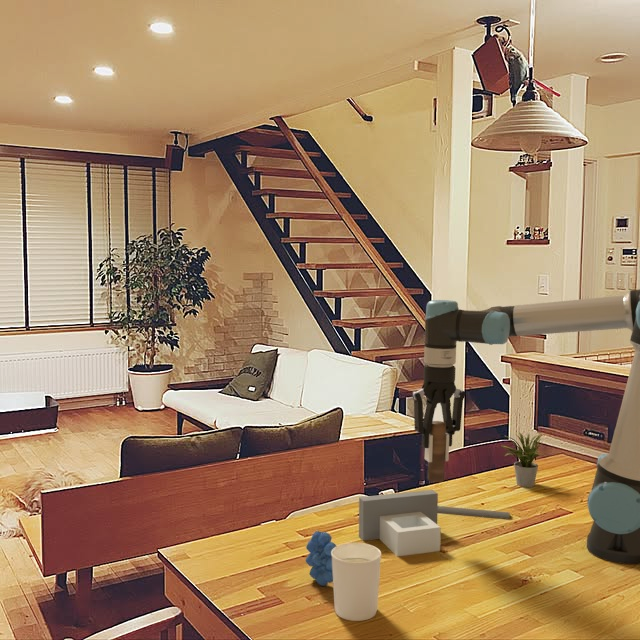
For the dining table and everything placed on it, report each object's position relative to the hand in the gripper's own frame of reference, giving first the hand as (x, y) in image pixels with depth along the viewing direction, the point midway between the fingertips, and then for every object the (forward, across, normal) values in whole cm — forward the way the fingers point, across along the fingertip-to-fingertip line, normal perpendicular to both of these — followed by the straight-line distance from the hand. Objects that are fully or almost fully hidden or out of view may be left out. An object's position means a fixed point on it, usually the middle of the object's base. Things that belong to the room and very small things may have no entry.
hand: (436, 459), depth 180 cm
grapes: (+21, -32, -16) cm, 42 cm away
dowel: (+5, 0, 0) cm, 5 cm away
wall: (+20, -7, +6) cm, 22 cm away
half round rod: (+21, +18, +14) cm, 31 cm away
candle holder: (+21, -30, -29) cm, 46 cm away
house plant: (+20, +47, +34) cm, 61 cm away
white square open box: (+21, -7, -1) cm, 22 cm away
